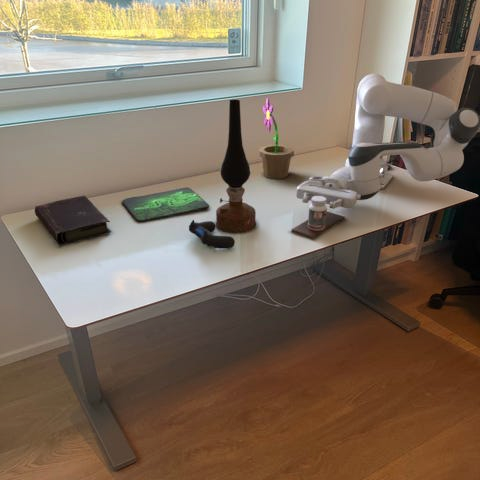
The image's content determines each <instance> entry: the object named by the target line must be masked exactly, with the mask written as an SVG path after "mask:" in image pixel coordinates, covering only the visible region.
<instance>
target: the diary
mask: <svg viewBox="0 0 480 480" xmlns="http://www.w3.org/2000/svg"><path fill="white" fill-rule="evenodd" d="M34 214H35V216H36V217H37V219H38V220H39V221H40V223H41V224H42V225H43V227H44V228H45V229H46V230H47V232H48V233H49V234H50V235H51V238H52V239H53V240H54V242H55V243H56V244H57V245H58V246H59V247H62V246H65V245H69V244H70V245H71V244H73V243H77V242H81V241H85V240H90V239H93V238H97V237H101V236H104V235H107V234H110V233H111V232H112V230H111V229H110V228H109V227H108V225H107V223H111V221H110V220H109V219H108V217H106V216H105V215H104V214H103V213H102V212H101V211H100V210H99V208H97V207H96V205H94V204H93V202H92V201H91V200H90V199H89V198H88V197H87V196H86V195H80V196H75V197H70V198H65V199H60V200H56V201H53V202H48V203H44V204H40V205H36V206H35V208H34Z"/></svg>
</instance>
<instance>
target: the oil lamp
mask: <svg viewBox="0 0 480 480" xmlns="http://www.w3.org/2000/svg"><path fill="white" fill-rule="evenodd" d="M228 113H229V114H228V136H227V137H228V138H227V146H226V150H225V154H224V157H223V161H222V163H221V166H220V176H221V179H222V180H223V182H224V183H225V184H227V185H228V187H227V188H226V189H225V190H226V193H227V196H228V200H225V202H226V203H224V204H222V205H220V206H218V207H217V208H216V209H215V215H216V216H215V218H216V222H215V226H216V227H215V228H216V229H218V230H219V231H220V232H223V233H226V234H227V233H228V234H245V233H248V232H252V231H253V230H254V229H256V227H257V221H256V209H255V207H253V205H250V204H248V203H246V202H243V201H244V200H243V196H244V194H245V191H246V189H245V188H244V187H243V185H244V184H245V183H247V181H248V180H249V179H250V176H251V170H250V169H251V168H250V164H249V162H248V159H247V157H246V156H247V155H246V153H245V149H244V146H243V145H244V144H243V136H242V119H241V100H240V99H230V100H229V109H228ZM222 202H224V199H223V198H222V197H220V198H219V203H220V204H221V203H222Z"/></svg>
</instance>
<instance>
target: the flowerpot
mask: <svg viewBox="0 0 480 480" xmlns="http://www.w3.org/2000/svg"><path fill="white" fill-rule="evenodd" d="M262 112H263V114H264V115H266V116H264V119H263V126H266V127H267V131H268V133H271V129H272V125H274V131H275V136H274V137H273V140H274V141H275V144H266V145H262V146H261V147H259V148H258V155H259V157H260V158H261V162H262V171H263V172H262V173H263V176H264V177H266V178H267V179H268V178H269V179H274V180H275V179H279V180H280V179H285V178H286V177H288V176H289V172H290V165H291V160H292V158H293V157H294V156H295V149H294V148H293V147H292V146H289V145H285V144H279V130H278V123H277V122H276V119H275V117H274V116H273V112H274V104H270V99H269V97H266V101H265V105H264V106H262Z"/></svg>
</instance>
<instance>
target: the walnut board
mask: <svg viewBox="0 0 480 480" xmlns="http://www.w3.org/2000/svg"><path fill="white" fill-rule="evenodd" d="M345 219H346V216H344V215H341V214H338V213H334V212H331V211H327V213H326V224H325V228H324V229H323V230H320V231H315V230H311V229H309V228H308V219H307V220H305V221H303V222H302V223H300V224H298V225H297V226H295V227H292V229H291V233H293V234H297V235H299V236H302V237H305V238H308V239H311V240H315V238H317V237H319V236H321V235H322V234H324V233H325V232H327V231H328V230H330V229H332V228H333V227H334V226H336V225H338V224H339V223H341V222H343V221H344V220H345Z"/></svg>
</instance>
